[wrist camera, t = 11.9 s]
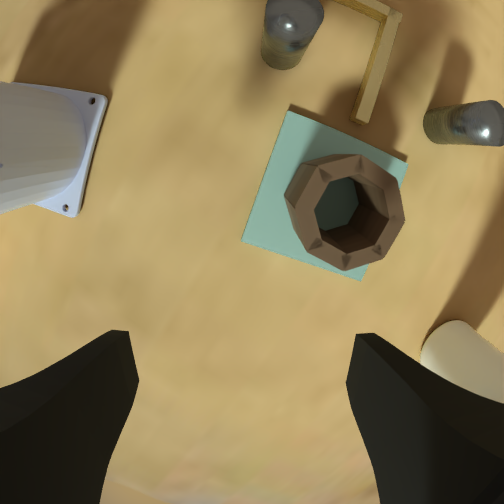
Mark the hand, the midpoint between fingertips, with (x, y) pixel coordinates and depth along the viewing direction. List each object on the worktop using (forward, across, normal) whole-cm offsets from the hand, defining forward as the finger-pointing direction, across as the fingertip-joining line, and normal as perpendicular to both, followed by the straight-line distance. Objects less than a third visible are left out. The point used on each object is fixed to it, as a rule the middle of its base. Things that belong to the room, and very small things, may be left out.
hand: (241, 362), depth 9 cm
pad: (+10, -5, -4) cm, 12 cm away
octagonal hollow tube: (+10, -5, -4) cm, 12 cm away
